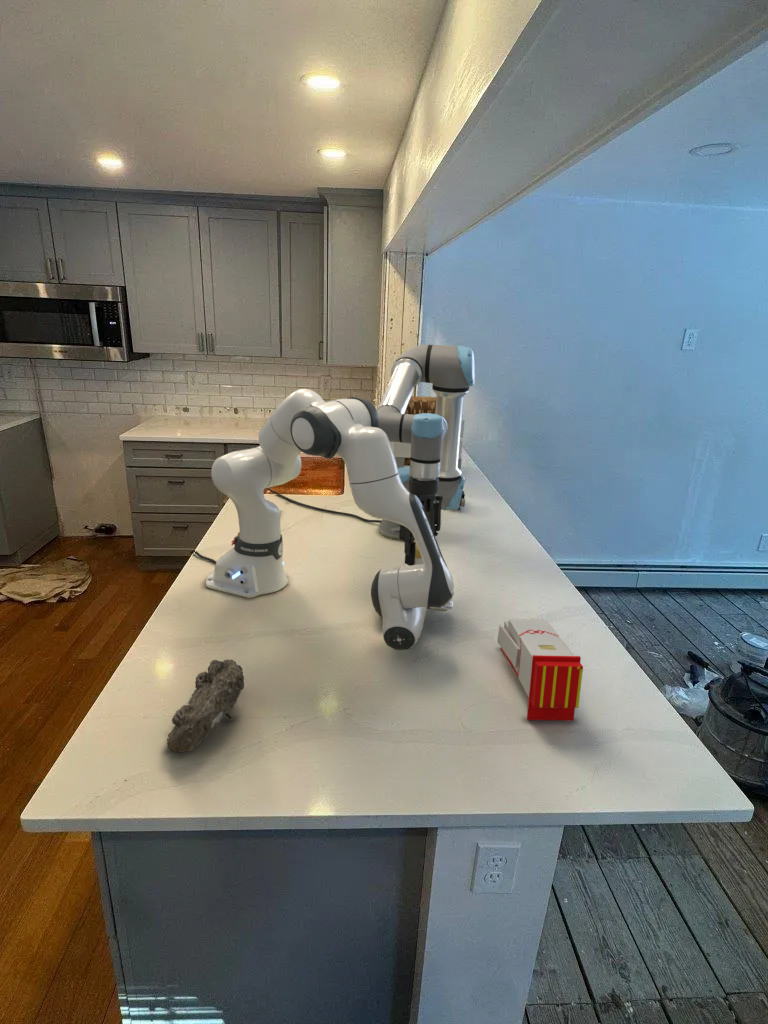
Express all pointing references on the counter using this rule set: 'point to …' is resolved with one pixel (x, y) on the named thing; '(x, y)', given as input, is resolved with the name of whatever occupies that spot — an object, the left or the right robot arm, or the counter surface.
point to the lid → (417, 552)
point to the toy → (542, 668)
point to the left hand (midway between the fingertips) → (417, 580)
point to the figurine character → (462, 501)
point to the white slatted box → (415, 407)
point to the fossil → (206, 705)
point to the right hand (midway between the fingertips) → (418, 560)
